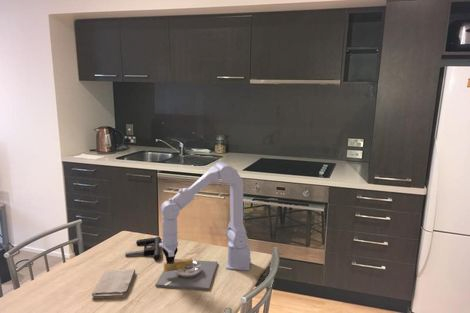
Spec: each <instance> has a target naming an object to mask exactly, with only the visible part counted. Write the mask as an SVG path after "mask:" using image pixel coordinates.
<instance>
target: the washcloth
mask: <svg viewBox="0 0 470 313" xmlns="http://www.w3.org/2000/svg"><path fill="white" fill-rule="evenodd" d="M135 275H136V269H135V268H134V269H133V268H128V269H127V268H126V269H120V270H118V269H117V270H116V269H112V270H111V269H108V270H105V271H104V272H103V274H102V276H101V278H100V279H99V280H98V283H97V284H96V286H95V287H94V289H93V291H92V292H91V296H92V298H91V300H94V299H97V300H116V299H117V300H120V299H124V298H125V297H126V296H127V295H128V292H129V290H130V287H131V285H132V283H133V280H134V277H135Z"/></svg>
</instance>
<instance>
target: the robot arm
mask: <svg viewBox="0 0 470 313" xmlns="http://www.w3.org/2000/svg"><path fill="white" fill-rule="evenodd" d="M221 181H222V182H224V183H227V184H228V185H229V200H230V201H229V212H230V214H229V215H230V216H229V217H230V218H229V220H230V221H229V223H228V228H227V230H226V233H225V236H226V237H227V239H228V243H227V262H226V265H225V266H226V267H225V269H226V270H240V271H250V267H251V266H250V265H251V260H252V259H251V245H250V244H249V245H248V243H249V238H248V236H247V230H246V228H245V225H244V180H243V178H242V177H241V176H240V174H239V173H238V170H237V169H236V168H234V167H233V166H230V165H229V164H227V163H226V162H225V161H218V162H216V163H215V164H214V165H212V166H210V167H209V168H208V170H207V171H206V172H205V173H203V174H202V175H201V177H198V179H197V180H195V182H194V183H193V184H192V185H191V186H189V187H184V188H180V189H179V190H178V193H176V194H175V195H174V196H172V197H169V198H168V200H165V201H164V202H162V204H161V206H160V208H159V209H160V212H161V214H162V215H161V219H162V220H161V235H162V237H161V239H162V240H161V241H162V242H161V243H159V246H160V247H161V250H162V253H163V254H164V256H165V260H166V262H172V261H174V259H176V254H177V252H178V251H179V249H178V245H179V241H178V216H179V215H180V211H182V210H183V209H184V208H185V207H186V206H188V205H189V204H190V203H191V202H192V201H193V200H194V199H195V195H196V194H197V193H199V192H200V191H201V190H203V189H205V188H206V187H207V186H208V185H210V184H211V183H221Z"/></svg>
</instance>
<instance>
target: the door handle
mask: <svg viewBox="0 0 470 313" xmlns="http://www.w3.org/2000/svg"><path fill="white" fill-rule="evenodd" d="M159 243H162V237H160V236H159V235H157V236H156V237H151V238H150V237H149V238H141V239H138V240H136V243H135V244H136V246H143V247H144V248H143V250H136V251H135V250H133V251H126V252H125V254H124V255H125V256H124V257H125V258H129V257H141V256H144V257H151V256H153V259H154V261H159V260H160V259H161V257H163V254H162V255H161V253H162V247H160V246H159ZM147 245H148V247H147ZM150 246H151V247H150Z"/></svg>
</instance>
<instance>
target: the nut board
mask: <svg viewBox="0 0 470 313" xmlns="http://www.w3.org/2000/svg"><path fill="white" fill-rule="evenodd" d="M178 260H184V259H183V258H182V259H180V258H179V259H178V258H174V261H178ZM192 260H193V261H194V260H195V259H192ZM196 260H197V259H196ZM197 261H199V263H200V264H201V273H200V274H199V275H198V276H196V277H193V278H181V277H179V276H177V275H176V271H175V270H174V271H168V272H164V270H162V273H161V274H160V276H159V278H158V279H157V281H156V283H155V288H170V289H181V290H182V289H184V290H185V289H186V290H197V291H210V289H211V286H212V282H213V279H214V276H215V273H216V270H217V267H218V261H215V260H214V261H212V260H211V261H209V260H200V259H199V260H197Z"/></svg>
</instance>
